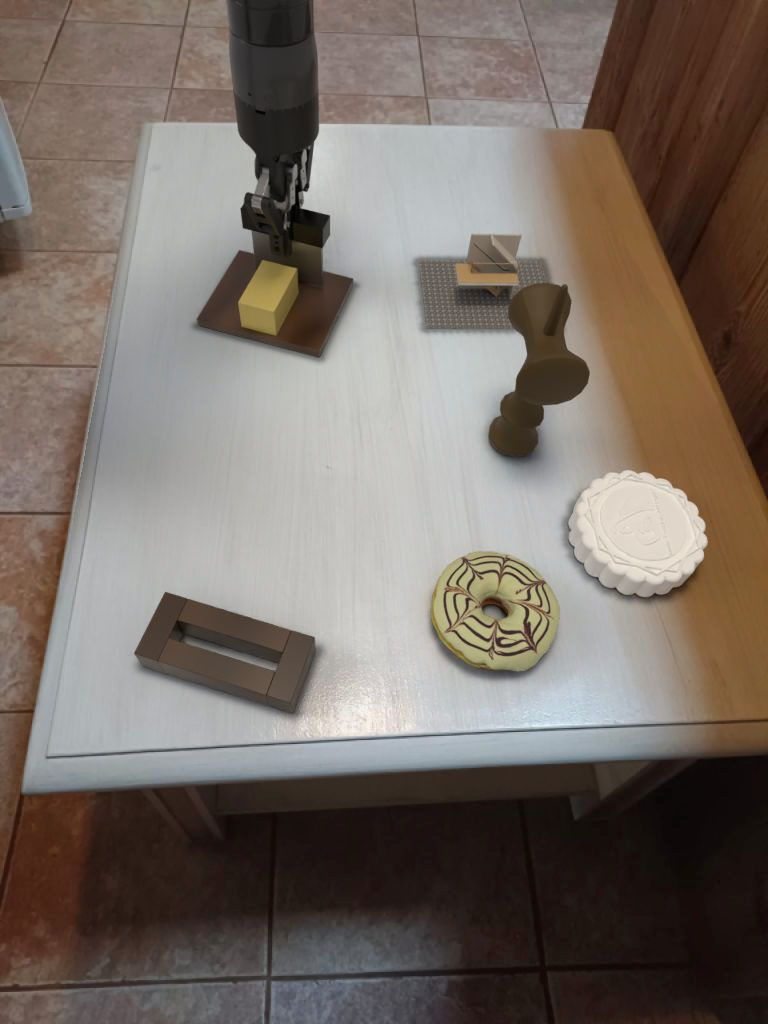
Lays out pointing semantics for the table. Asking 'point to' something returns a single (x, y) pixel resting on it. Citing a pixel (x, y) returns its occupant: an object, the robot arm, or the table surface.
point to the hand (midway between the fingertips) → (286, 245)
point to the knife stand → (222, 671)
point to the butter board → (304, 320)
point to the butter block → (268, 297)
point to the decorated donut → (483, 636)
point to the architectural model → (477, 284)
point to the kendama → (538, 367)
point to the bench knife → (295, 243)
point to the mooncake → (637, 533)
